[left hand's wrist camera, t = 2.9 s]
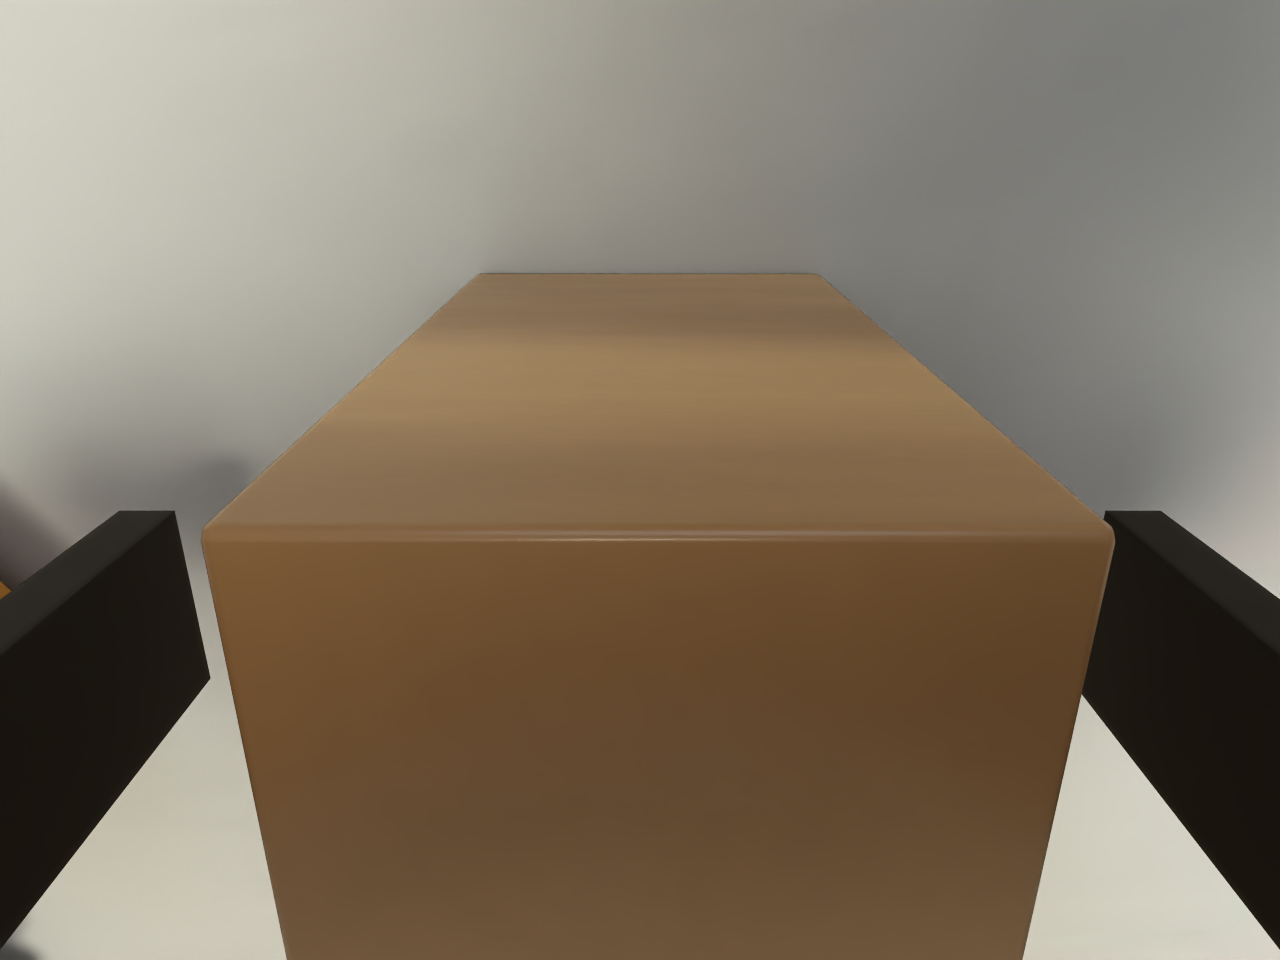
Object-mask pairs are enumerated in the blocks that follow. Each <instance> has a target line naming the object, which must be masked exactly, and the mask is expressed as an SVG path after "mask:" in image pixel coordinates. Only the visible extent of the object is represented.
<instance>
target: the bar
mask: <svg viewBox="0 0 1280 960" xmlns="http://www.w3.org/2000/svg"><path fill="white" fill-rule="evenodd" d="M201 544H202V549H203V553H204V558H205V563H206V568H207V573H208V578H209V583H210V587H211V592H212V597H213V602H214V607H215V612H216V617H217V622H218V626H219V631H220V636H221V641H222V646H223V651H224V656H225V660H226V665H227V670H228V675H229V680H230V685H231V690H232V694H233V699H234V704H235V709H236V714H237V719H238V724H239V729H240V733H241V738H242V743H243V748H244V753H245V758H246V763H247V767H248V772H249V777H250V782H251V787H252V792H253V797H254V801H255V806H256V811H257V816H258V821H259V826H260V831H261V836H262V840H263V845H264V850H265V855H266V860H267V865H268V870H269V874H270V879H271V884H272V889H273V894H274V899H275V904H276V908H277V913H278V918H279V923H280V928H281V933H282V938H283V942H284V947H285V952H286V957H287V960H1022V959H1023V954H1024V950H1025V945H1026V941H1027V936H1028V932H1029V927H1030V923H1031V918H1032V914H1033V909H1034V905H1035V900H1036V896H1037V891H1038V887H1039V882H1040V878H1041V873H1042V869H1043V865H1044V860H1045V856H1046V851H1047V847H1048V842H1049V838H1050V833H1051V829H1052V824H1053V820H1054V815H1055V811H1056V806H1057V802H1058V797H1059V793H1060V788H1061V784H1062V779H1063V775H1064V770H1065V766H1066V761H1067V757H1068V752H1069V748H1070V743H1071V739H1072V734H1073V730H1074V725H1075V721H1076V716H1077V712H1078V707H1079V703H1080V698H1081V694H1082V689H1083V685H1084V680H1085V676H1086V671H1087V667H1088V662H1089V658H1090V653H1091V649H1092V644H1093V640H1094V635H1095V631H1096V626H1097V622H1098V617H1099V613H1100V608H1101V604H1102V599H1103V595H1104V591H1105V586H1106V582H1107V577H1108V573H1109V568H1110V564H1111V559H1112V555H1113V550H1114V546H1115V537H1114V531H1113V529H1112V527H1111V526H1110V525H1109V524H1108V523H1107V522H1105V521H1104V520H1103V519H1102V518H1101V517H1100V516H1098V515H1097V514H1096V513H1095V512H1094V511H1093V510H1091V509H1090V508H1089V507H1088V506H1087V505H1086V504H1085V503H1083V502H1082V501H1081V500H1080V499H1079V498H1078V497H1076V496H1075V495H1074V494H1073V493H1072V492H1071V491H1069V490H1068V489H1067V488H1066V487H1065V486H1064V485H1062V484H1061V483H1060V482H1059V481H1058V480H1057V479H1055V478H1054V477H1053V476H1052V475H1051V474H1050V473H1049V472H1047V471H1046V470H1045V469H1044V468H1043V467H1042V466H1040V465H1039V464H1038V463H1037V462H1036V461H1035V460H1033V459H1032V458H1031V457H1030V456H1029V455H1028V454H1026V453H1025V452H1024V451H1023V450H1022V449H1021V448H1019V447H1018V446H1017V445H1016V444H1015V443H1014V442H1012V441H1011V440H1010V439H1009V438H1008V437H1007V436H1006V435H1004V434H1003V433H1002V432H1001V431H1000V430H999V429H997V428H996V427H995V426H994V425H993V424H992V423H990V422H989V421H988V420H987V419H986V418H985V417H983V416H982V415H981V414H980V413H979V412H978V411H976V410H975V409H974V408H973V407H972V406H971V405H969V404H968V403H967V402H966V401H965V400H964V399H963V398H961V397H960V396H959V395H958V394H957V393H956V392H954V391H953V390H952V389H951V388H950V387H949V386H947V385H946V384H945V383H944V382H943V381H942V380H940V379H939V378H938V377H937V376H936V375H935V374H933V373H932V372H931V371H930V370H929V369H928V368H926V367H925V366H924V365H923V364H922V363H921V362H920V361H918V360H917V359H916V358H915V357H914V356H913V355H911V354H910V353H909V352H908V351H907V350H906V349H904V348H903V347H902V346H901V345H900V344H899V343H897V342H896V341H895V340H894V339H893V338H892V337H890V336H889V335H888V334H887V333H886V332H885V331H883V330H882V329H881V328H880V327H879V326H878V325H877V324H875V323H874V322H873V321H872V320H871V319H870V318H868V317H867V316H866V315H865V314H864V313H863V312H861V311H860V310H859V309H858V308H857V307H856V306H854V305H853V304H852V303H851V302H850V301H849V300H847V299H846V298H845V297H844V296H843V295H842V294H841V293H839V292H838V291H837V290H836V289H835V288H834V287H832V286H831V285H830V284H829V283H828V282H827V281H825V280H824V279H823V278H822V277H821V276H819V275H817V274H479V275H477V276H475V277H474V278H473V279H472V280H471V281H470V282H469V283H468V284H467V285H466V286H465V287H464V288H462V289H461V290H460V291H459V292H458V293H457V294H456V295H455V296H454V297H453V298H452V299H450V300H449V301H448V302H447V303H446V304H445V305H444V306H443V307H442V308H441V309H440V310H439V311H437V312H436V313H435V314H434V315H433V316H432V317H431V318H430V319H429V320H428V321H427V322H425V323H424V324H423V325H422V326H421V327H420V328H419V329H418V330H417V331H416V332H415V333H414V334H412V335H411V336H410V337H409V338H408V339H407V340H406V341H405V342H404V343H403V344H402V345H400V346H399V347H398V348H397V349H396V350H395V351H394V352H393V353H392V354H391V355H390V356H389V357H387V358H386V359H385V360H384V361H383V362H382V363H381V364H380V365H379V366H378V367H377V368H375V369H374V370H373V371H372V372H371V373H370V374H369V375H368V376H367V377H366V378H365V379H364V380H362V381H361V382H360V383H359V384H358V385H357V386H356V387H355V388H354V389H353V390H352V391H350V392H349V393H348V394H347V395H346V396H345V397H344V398H343V399H342V400H341V401H340V402H339V403H337V404H336V405H335V406H334V407H333V408H332V409H331V410H330V411H329V412H328V413H327V414H325V415H324V416H323V417H322V418H321V419H320V420H319V421H318V422H317V423H316V424H315V425H314V426H312V427H311V428H310V429H309V430H308V431H307V432H306V433H305V434H304V435H303V436H302V437H300V438H299V439H298V440H297V441H296V442H295V443H294V444H293V445H292V446H291V447H290V448H289V449H287V450H286V451H285V452H284V453H283V454H282V455H281V456H280V457H279V458H278V459H277V460H275V461H274V462H273V463H272V464H271V465H270V466H269V467H268V468H267V469H266V470H265V471H264V472H262V473H261V474H260V475H259V476H258V477H257V478H256V479H255V480H254V481H253V482H252V483H250V484H249V485H248V486H247V487H246V488H245V489H244V490H243V491H242V492H241V493H240V494H239V495H237V496H236V497H235V498H234V499H233V500H232V501H231V502H230V503H229V504H228V505H227V506H225V507H224V508H223V509H222V510H221V511H220V512H219V513H218V514H217V515H216V516H215V517H214V518H212V519H211V520H210V521H209V522H208V523H207V524H206V525H205V526H204V528H203V531H202V537H201Z"/></svg>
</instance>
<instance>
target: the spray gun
mask: <svg viewBox="0 0 1280 960" xmlns="http://www.w3.org/2000/svg"><path fill="white" fill-rule="evenodd" d="M9 592H11V590H10V589H8V588H7V587H6V586H5V585H4V584H3V583H2V582H1V581H0V599H1V598H3V597H4V596H5V595H7V594H8V593H9Z"/></svg>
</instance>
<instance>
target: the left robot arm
mask: <svg viewBox="0 0 1280 960" xmlns="http://www.w3.org/2000/svg"><path fill="white" fill-rule="evenodd" d="M1104 521H1105V522H1107V523H1108V524H1109V525H1110V526H1111V527H1112V529H1113V531H1114V537H1115V546H1114V550H1113V555H1112V559H1111V564H1110V568H1109V573H1108V577H1107V582H1106V586H1105V591H1104V595H1103V599H1102V604H1101V608H1100V613H1099V617H1098V622H1097V626H1096V631H1095V635H1094V640H1093V644H1092V649H1091V653H1090V658H1089V662H1088V667H1087V671H1086V676H1085V680H1084V685H1083V689H1082V695H1083V696H1084V698H1085V699H1086V700H1087V701H1088V703H1089V704H1090V705H1091V707H1092V708H1093V709H1094V711H1095V712H1096V713H1097V714H1098V716H1099V717H1100V718H1101V720H1102V721H1103V722H1104V723H1105V725H1106V726H1107V727H1108V729H1109V730H1110V731H1111V732H1112V734H1113V735H1114V736H1115V738H1116V739H1117V740H1118V741H1119V743H1120V744H1121V745H1122V747H1123V748H1124V749H1125V750H1126V752H1127V753H1128V754H1129V756H1130V757H1131V758H1132V760H1133V761H1134V762H1135V763H1136V765H1137V766H1138V767H1139V769H1140V770H1141V771H1142V772H1143V774H1144V775H1145V776H1146V778H1147V779H1148V780H1149V781H1150V783H1151V784H1152V785H1153V787H1154V788H1155V789H1156V790H1157V792H1158V793H1159V794H1160V796H1161V797H1162V798H1163V800H1164V801H1165V802H1166V803H1167V805H1168V806H1169V807H1170V809H1171V810H1172V811H1173V812H1174V814H1175V815H1176V816H1177V818H1178V819H1179V820H1180V821H1181V823H1182V824H1183V825H1184V827H1185V828H1186V829H1187V830H1188V832H1189V833H1190V834H1191V836H1192V837H1193V838H1194V839H1195V841H1196V842H1197V843H1198V845H1199V846H1200V847H1201V849H1202V850H1203V851H1204V852H1205V854H1206V855H1207V856H1208V858H1209V859H1210V860H1211V861H1212V863H1213V864H1214V865H1215V867H1216V868H1217V869H1218V870H1219V872H1220V873H1221V874H1222V876H1223V877H1224V878H1225V879H1226V881H1227V882H1228V883H1229V885H1230V886H1231V887H1232V889H1233V890H1234V891H1235V892H1236V894H1237V895H1238V896H1239V898H1240V899H1241V900H1242V901H1243V903H1244V904H1245V905H1246V907H1247V908H1248V909H1249V910H1250V912H1251V913H1252V914H1253V916H1254V917H1255V918H1256V919H1257V921H1258V922H1259V923H1260V925H1261V926H1262V927H1263V928H1264V930H1265V931H1266V932H1267V934H1268V935H1269V936H1270V938H1271V939H1272V940H1273V941H1274V943H1275V944H1276V945H1277V947H1278V948H1279V949H1280V599H1279V598H1277V597H1276V596H1275V595H1273V594H1272V593H1271V592H1269V591H1268V590H1267V589H1265V588H1264V587H1263V586H1261V585H1260V584H1259V583H1257V582H1256V581H1254V580H1253V579H1252V578H1250V577H1249V576H1248V575H1246V574H1245V573H1244V572H1242V571H1241V570H1240V569H1238V568H1237V567H1236V566H1234V565H1233V564H1232V563H1230V562H1229V561H1228V560H1226V559H1225V558H1223V557H1222V556H1221V555H1219V554H1218V553H1217V552H1215V551H1214V550H1213V549H1211V548H1210V547H1209V546H1207V545H1206V544H1205V543H1203V542H1202V541H1201V540H1199V539H1198V538H1197V537H1195V536H1194V535H1193V534H1191V533H1190V532H1188V531H1187V530H1186V529H1184V528H1183V527H1182V526H1180V525H1179V524H1178V523H1176V522H1175V521H1174V520H1172V519H1171V518H1170V517H1168V516H1167V515H1166V514H1164V513H1163V512H1162V511H1105V515H1104ZM209 680H210V674H209V669H208V665H207V660H206V655H205V651H204V646H203V641H202V637H201V632H200V627H199V623H198V618H197V613H196V609H195V604H194V599H193V595H192V590H191V585H190V581H189V576H188V571H187V566H186V562H185V557H184V552H183V548H182V543H181V538H180V534H179V529H178V524H177V520H176V515H175V511H119V512H117V513H116V514H114V515H113V516H112V517H110V518H109V519H108V520H106V521H105V522H104V523H102V524H101V525H100V526H98V527H97V528H96V529H94V530H93V531H92V532H90V533H89V534H88V535H86V536H85V537H83V538H82V539H81V540H79V541H78V542H77V543H75V544H74V545H73V546H71V547H70V548H69V549H67V550H66V551H65V552H63V553H62V554H61V555H59V556H58V557H57V558H55V559H54V560H53V561H51V562H50V563H48V564H47V565H46V566H44V567H43V568H42V569H40V570H39V571H38V572H36V573H35V574H34V575H32V576H31V577H30V578H28V579H27V580H26V581H24V582H23V583H22V584H20V585H19V586H17V587H16V588H15V589H13V590H12V591H11V592H9V593H8V594H7V595H5V596H4V597H3V598H1V599H0V949H1V948H2V947H3V945H4V944H5V943H6V941H7V940H8V939H9V938H10V936H11V935H12V934H13V932H14V931H15V930H16V929H17V927H18V926H19V925H20V923H21V922H22V921H23V920H24V918H25V917H26V916H27V914H28V913H29V912H30V910H31V909H32V908H33V907H34V905H35V904H36V903H37V901H38V900H39V899H40V898H41V896H42V895H43V894H44V892H45V891H46V890H47V889H48V887H49V886H50V885H51V883H52V882H53V881H54V880H55V878H56V877H57V876H58V874H59V873H60V872H61V871H62V869H63V868H64V867H65V865H66V864H67V863H68V861H69V860H70V859H71V858H72V856H73V855H74V854H75V852H76V851H77V850H78V849H79V847H80V846H81V845H82V843H83V842H84V841H85V840H86V838H87V837H88V836H89V834H90V833H91V832H92V831H93V829H94V828H95V827H96V825H97V824H98V823H99V821H100V820H101V819H102V818H103V816H104V815H105V814H106V812H107V811H108V810H109V809H110V807H111V806H112V805H113V803H114V802H115V801H116V800H117V798H118V797H119V796H120V794H121V793H122V792H123V791H124V789H125V788H126V787H127V785H128V784H129V783H130V782H131V780H132V779H133V778H134V776H135V775H136V774H137V772H138V771H139V770H140V769H141V767H142V766H143V765H144V763H145V762H146V761H147V760H148V758H149V757H150V756H151V754H152V753H153V752H154V751H155V749H156V748H157V747H158V745H159V744H160V743H161V742H162V740H163V739H164V738H165V736H166V735H167V734H168V732H169V731H170V730H171V729H172V727H173V726H174V725H175V723H176V722H177V721H178V720H179V718H180V717H181V716H182V714H183V713H184V712H185V711H186V709H187V708H188V707H189V705H190V704H191V703H192V702H193V700H194V699H195V698H196V696H197V695H198V694H199V693H200V691H201V690H202V689H203V687H204V686H205V685H206V683H207V682H208V681H209Z"/></svg>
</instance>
